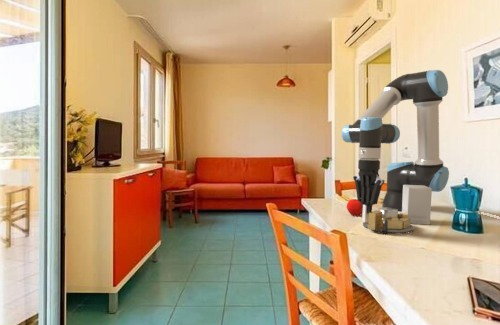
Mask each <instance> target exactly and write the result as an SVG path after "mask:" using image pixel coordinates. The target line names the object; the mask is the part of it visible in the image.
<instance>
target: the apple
mask: <svg viewBox="0 0 500 325" xmlns="http://www.w3.org/2000/svg"><path fill="white" fill-rule="evenodd" d="M346 210H347V212H348V213H349V214H350V215H351V216H353V217H359V216H362V215H363V212H362V204H361V202H358V200H357V198H356V199H352V198H351V199H350V200H348V201H347V203H346Z"/></svg>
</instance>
